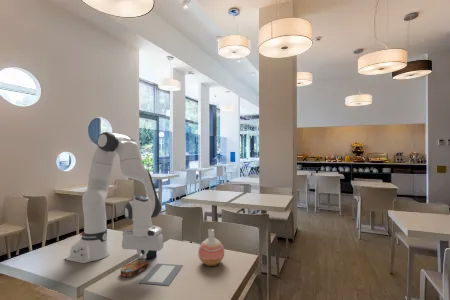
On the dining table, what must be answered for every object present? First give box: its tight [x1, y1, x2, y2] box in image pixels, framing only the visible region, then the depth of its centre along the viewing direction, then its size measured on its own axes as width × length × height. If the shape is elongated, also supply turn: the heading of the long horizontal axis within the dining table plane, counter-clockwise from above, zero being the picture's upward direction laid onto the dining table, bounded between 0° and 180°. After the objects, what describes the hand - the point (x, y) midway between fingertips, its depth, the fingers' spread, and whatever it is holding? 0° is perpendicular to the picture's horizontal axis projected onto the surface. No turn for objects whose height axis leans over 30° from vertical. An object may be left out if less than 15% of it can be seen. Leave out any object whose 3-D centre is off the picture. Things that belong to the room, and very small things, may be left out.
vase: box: [197, 228, 225, 267], centre depth 127 cm, size 14×14×18 cm
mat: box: [138, 262, 184, 287], centre depth 117 cm, size 14×19×1 cm
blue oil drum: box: [141, 250, 158, 261], centre depth 136 cm, size 10×10×15 cm
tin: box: [120, 258, 150, 278], centre depth 120 cm, size 15×3×8 cm
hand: (142, 258), depth 118 cm, fingers closed
